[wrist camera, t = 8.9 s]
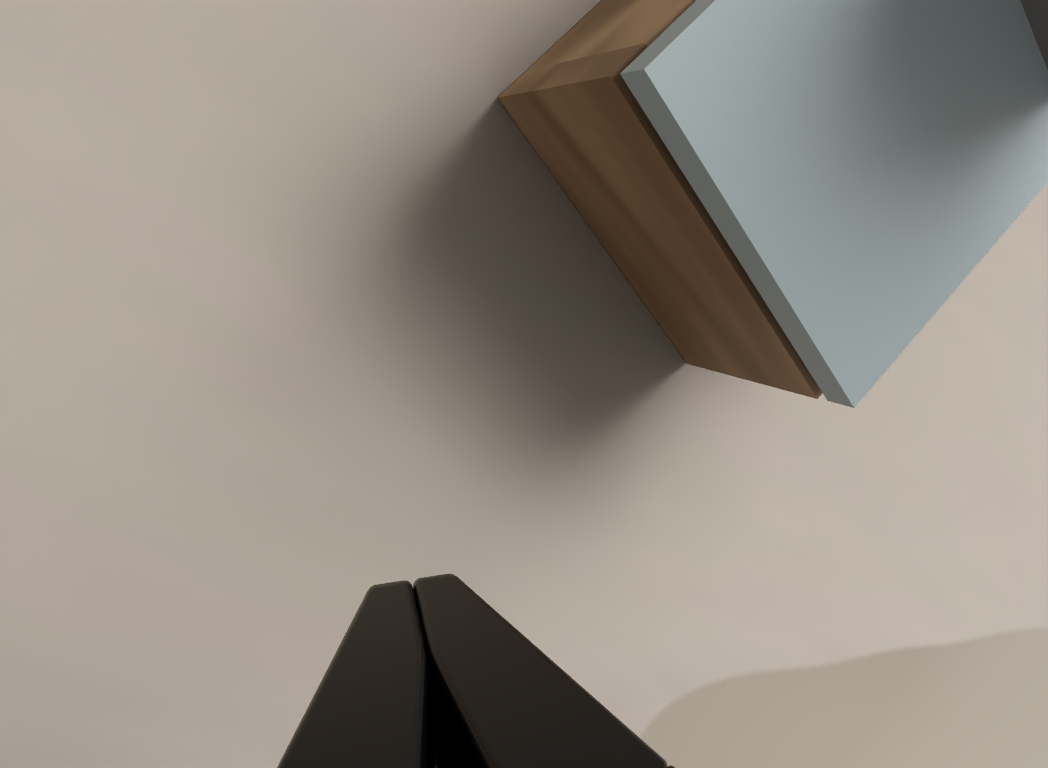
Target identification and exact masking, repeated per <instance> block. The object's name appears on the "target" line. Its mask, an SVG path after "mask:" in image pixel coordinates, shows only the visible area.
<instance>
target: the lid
mask: <svg viewBox="0 0 1048 768" xmlns="http://www.w3.org/2000/svg"><path fill="white" fill-rule="evenodd" d="M620 75H621V76H622V78H623V79H624V81H625V83H626V84H627V86H628V87H629V89H630V90H631V92H632V94H633V95H634V97H635V98H636V100H637V101H638V103H639V105H640V106H641V108H642V109H643V111H644V112H645V114H646V116H647V117H648V119H649V120H650V122H651V123H652V125H653V127H654V128H655V130H656V131H657V133H658V134H659V136H660V138H661V139H662V141H663V142H664V144H665V145H666V147H667V149H668V150H669V152H670V153H671V155H672V156H673V158H674V160H675V161H676V163H677V164H678V166H679V167H680V169H681V171H682V172H683V174H684V175H685V177H686V179H687V180H688V182H689V183H690V185H691V186H692V188H693V190H694V191H695V193H696V194H697V196H698V197H699V199H700V201H701V202H702V204H703V205H704V207H705V208H706V210H707V212H708V213H709V215H710V216H711V218H712V219H713V221H714V223H715V224H716V226H717V227H718V229H719V230H720V232H721V234H722V235H723V237H724V238H725V240H726V241H727V243H728V245H729V246H730V248H731V249H732V251H733V252H734V254H735V256H736V257H737V259H738V260H739V262H740V264H741V265H742V267H743V268H744V270H745V271H746V273H747V275H748V276H749V278H750V279H751V281H752V282H753V284H754V286H755V287H756V289H757V290H758V292H759V293H760V295H761V297H762V298H763V300H764V301H765V303H766V304H767V306H768V308H769V309H770V311H771V312H772V314H773V315H774V317H775V319H776V320H777V322H778V323H779V325H780V326H781V328H782V330H783V331H784V333H785V334H786V336H787V337H788V339H789V341H790V342H791V344H792V345H793V347H794V348H795V350H796V352H797V353H798V355H799V356H800V358H801V360H802V361H803V363H804V364H805V366H806V367H807V369H808V371H809V372H810V374H811V375H812V377H813V378H814V380H815V382H816V383H817V385H818V386H819V388H820V389H821V391H822V393H823V394H824V396H825V397H826V399H827V400H828V401H831V402H835V403H838V404H842V405H846V406H849V407H853V408H854V407H855V406H856V405H857V404H858V403H859V401H860V400H861V399H862V398H863V397H864V396H865V394H866V393H867V392H868V391H869V390H870V389H871V387H872V386H873V385H874V384H875V383H876V382H877V381H878V379H879V378H880V377H881V376H882V375H883V374H884V372H885V371H886V370H887V369H888V368H889V367H890V365H891V364H892V363H893V362H894V361H895V360H896V358H897V357H898V356H899V355H900V354H901V353H902V351H903V350H904V349H905V348H906V347H907V346H908V344H909V343H910V342H911V341H912V340H913V339H914V337H915V336H916V335H917V334H918V333H919V332H920V330H921V329H922V328H923V327H924V326H925V325H926V323H927V322H928V321H929V320H930V319H931V318H932V317H933V315H934V314H935V313H936V312H937V311H938V310H939V308H940V307H941V306H942V305H943V304H944V303H945V301H946V300H947V299H948V298H949V297H950V296H951V294H952V293H953V292H954V291H955V290H956V289H957V287H958V286H959V285H960V284H961V283H962V282H963V280H964V279H965V278H966V277H967V276H968V275H969V273H970V272H971V271H972V270H973V269H974V268H975V266H976V265H977V264H978V263H979V262H980V261H981V259H982V258H983V257H984V256H985V255H986V254H987V253H988V251H989V250H990V249H991V248H992V247H993V246H994V244H995V243H996V242H997V241H998V240H999V239H1000V237H1001V236H1002V235H1003V234H1004V233H1005V232H1006V230H1007V229H1008V228H1009V227H1010V226H1011V225H1012V223H1013V222H1014V221H1015V220H1016V219H1017V218H1018V216H1019V215H1020V214H1021V213H1022V212H1023V211H1024V209H1025V208H1026V207H1027V206H1028V205H1029V204H1030V202H1031V201H1032V200H1033V199H1034V198H1035V197H1036V195H1037V194H1038V193H1039V192H1040V191H1041V190H1042V189H1043V187H1044V186H1045V185H1046V184H1047V183H1048V0H696V1H695V2H694V3H693V4H692V5H691V6H690V7H689V8H688V9H687V10H686V11H685V12H684V13H683V14H682V15H681V16H679V17H678V18H677V19H676V20H675V21H674V22H673V23H672V24H671V25H670V26H669V27H668V28H667V29H666V30H665V31H664V32H663V33H662V34H661V35H660V36H659V37H658V38H657V39H656V40H655V41H653V42H652V43H651V44H650V45H649V46H648V47H647V48H646V49H645V50H644V51H643V52H642V53H641V54H640V55H639V56H638V57H637V58H636V59H635V60H634V61H633V62H632V63H631V64H630V65H629V66H627V67H626V68H625V69H624V70H623V71H622V72H621V73H620Z"/></svg>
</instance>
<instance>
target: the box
mask: <svg viewBox="0 0 1048 768" xmlns="http://www.w3.org/2000/svg"><path fill="white" fill-rule="evenodd" d="M695 1H696V0H602V1H600V2H599V3H598V4H597V5H596V6H595V7H594V8H593V9H592V10H591V11H590V12H589V13H588V14H587V15H585V16H584V17H583V18H582V19H581V20H580V21H579V22H578V23H577V24H576V25H575V26H574V27H573V28H572V29H570V30H569V31H568V32H567V33H566V34H565V35H564V36H563V37H562V38H561V39H560V40H559V41H558V42H556V43H555V44H554V45H553V46H552V47H551V48H550V49H549V50H548V51H547V52H546V53H545V54H544V55H543V56H541V57H540V58H539V59H538V60H537V61H536V62H535V63H534V64H533V65H532V66H531V67H530V68H529V69H527V70H526V71H525V72H524V73H523V74H522V75H521V76H520V77H519V78H518V79H517V80H516V81H515V82H514V83H512V84H511V85H510V86H509V87H508V88H507V89H506V90H505V91H504V92H503V93H502V94H501V95H500V96H498V97H497V98H498V99H499V101H500V102H501V104H502V105H503V106H504V108H505V109H506V111H507V112H508V113H509V115H510V116H511V118H512V119H513V120H514V122H515V123H516V125H517V126H518V127H519V129H520V130H521V132H522V133H523V134H524V136H525V137H526V139H527V140H528V141H529V143H530V144H531V146H532V147H533V148H534V150H535V151H536V153H537V154H538V155H539V157H540V158H541V160H542V161H543V162H544V164H545V165H546V167H547V168H548V169H549V171H550V172H551V174H552V175H553V176H554V178H555V179H556V181H557V182H558V183H559V185H560V186H561V188H562V189H563V190H564V192H565V193H566V195H567V196H568V197H569V199H570V200H571V202H572V203H573V204H574V206H575V207H576V209H577V210H578V211H579V213H580V214H581V216H582V217H583V218H584V220H585V221H586V223H587V224H588V225H589V227H590V228H591V230H592V231H593V232H594V234H595V235H596V237H597V238H598V239H599V241H600V242H601V244H602V245H603V246H604V248H605V249H606V251H607V252H608V253H609V255H610V256H611V258H612V259H613V260H614V262H615V263H616V265H617V266H618V267H619V269H620V270H621V272H622V273H623V274H624V276H625V277H626V279H627V280H628V281H629V283H630V284H631V286H632V287H633V288H634V290H635V291H636V293H637V294H638V295H639V297H640V298H641V300H642V301H643V302H644V304H645V305H646V307H647V308H648V309H649V311H650V312H651V314H652V315H653V316H654V318H655V319H656V321H657V322H658V323H659V325H660V326H661V328H662V329H663V330H664V332H665V333H666V335H667V336H668V337H669V339H670V340H671V342H672V343H673V344H674V346H675V347H676V349H677V350H678V351H679V353H680V354H681V356H682V357H683V358H684V360H685V361H686V363H687V364H690V365H694V366H698V367H702V368H705V369H709V370H713V371H716V372H720V373H724V374H727V375H731V376H735V377H738V378H742V379H746V380H750V381H753V382H757V383H761V384H764V385H768V386H772V387H775V388H779V389H783V390H787V391H790V392H794V393H798V394H801V395H805V396H809V397H812V398H816V399H818V398H819V397H820V395H821V394H822V391H821V389H820V388H819V386H818V385H817V383H816V382H815V380H814V378H813V377H812V375H811V374H810V372H809V371H808V369H807V367H806V366H805V364H804V363H803V361H802V360H801V358H800V356H799V355H798V353H797V352H796V350H795V348H794V347H793V345H792V344H791V342H790V341H789V339H788V337H787V336H786V334H785V333H784V331H783V330H782V328H781V326H780V325H779V323H778V322H777V320H776V319H775V317H774V315H773V314H772V312H771V311H770V309H769V308H768V306H767V304H766V303H765V301H764V300H763V298H762V297H761V295H760V293H759V292H758V290H757V289H756V287H755V286H754V284H753V282H752V281H751V279H750V278H749V276H748V275H747V273H746V271H745V270H744V268H743V267H742V265H741V264H740V262H739V260H738V259H737V257H736V256H735V254H734V252H733V251H732V249H731V248H730V246H729V245H728V243H727V241H726V240H725V238H724V237H723V235H722V234H721V232H720V230H719V229H718V227H717V226H716V224H715V223H714V221H713V219H712V218H711V216H710V215H709V213H708V212H707V210H706V208H705V207H704V205H703V204H702V202H701V201H700V199H699V197H698V196H697V194H696V193H695V191H694V190H693V188H692V186H691V185H690V183H689V182H688V180H687V179H686V177H685V175H684V174H683V172H682V171H681V169H680V167H679V166H678V164H677V163H676V161H675V160H674V158H673V156H672V155H671V153H670V152H669V150H668V149H667V147H666V145H665V144H664V142H663V141H662V139H661V138H660V136H659V134H658V133H657V131H656V130H655V128H654V127H653V125H652V123H651V122H650V120H649V119H648V117H647V116H646V114H645V112H644V111H643V109H642V108H641V106H640V105H639V103H638V101H637V100H636V98H635V97H634V95H633V94H632V92H631V90H630V89H629V87H628V86H627V84H626V83H625V81H624V79H623V78H622V76H621V75H620V73H621V72H622V71H623V70H624V69H625V68H626V67H627V66H629V65H630V64H631V63H632V62H633V61H634V60H635V59H636V58H637V57H638V56H639V55H640V54H641V53H642V52H643V51H644V50H645V49H646V48H647V47H648V46H649V45H650V44H651V43H652V42H653V41H655V40H656V39H657V38H658V37H659V36H660V35H661V34H662V33H663V32H664V31H665V30H666V29H667V28H668V27H669V26H670V25H671V24H672V23H673V22H674V21H675V20H676V19H677V18H678V17H679V16H681V15H682V14H683V13H684V12H685V11H686V10H687V9H688V8H689V7H690V6H691V5H692V4H693V3H694V2H695Z"/></svg>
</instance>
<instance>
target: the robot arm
mask: <svg viewBox="0 0 1048 768" xmlns="http://www.w3.org/2000/svg"><path fill="white" fill-rule="evenodd" d="M277 768H675V767H674V766H668V767H667V763H666V761H665V760H664V759H663V758H662V757H661V756H660V755H658V754H657V753H656V752H655V751H654V750H653V749H651V748H650V747H649V746H648V745H647V744H646V743H645V742H644V741H643V740H641V739H640V738H639V737H638V736H637V735H636V734H635V733H633V732H632V731H631V730H630V729H629V728H628V727H627V726H626V725H624V724H623V723H622V722H621V721H620V720H619V719H618V718H616V717H615V716H614V715H613V714H612V713H611V712H610V711H609V710H607V709H606V708H605V707H604V706H603V705H602V704H601V703H599V702H598V701H597V700H596V699H595V698H594V697H593V696H592V695H590V694H589V693H588V692H587V691H586V690H585V689H584V688H582V687H581V686H580V685H579V684H578V683H577V682H576V681H575V680H573V679H572V678H571V677H570V676H569V675H568V674H567V673H565V672H564V671H563V670H562V669H561V668H560V667H559V666H558V665H556V664H555V663H554V662H553V661H552V660H551V659H550V658H548V657H547V656H546V655H545V654H544V653H543V652H542V651H541V650H539V649H538V648H537V647H536V646H535V645H534V644H533V643H531V642H530V641H529V640H528V639H527V638H526V637H525V636H524V635H522V634H521V633H520V632H519V631H518V630H517V629H516V628H514V627H513V626H512V625H511V624H510V623H509V622H508V621H506V620H505V619H504V618H503V617H502V616H501V615H500V614H499V613H497V612H496V611H495V610H494V609H493V608H492V607H491V606H489V605H488V604H487V603H486V602H485V601H484V600H483V599H482V598H480V597H479V596H478V595H477V594H476V593H475V592H474V591H472V590H471V589H470V588H469V587H468V586H467V585H466V584H465V583H463V582H462V581H461V580H460V579H459V578H458V577H457V576H455V575H453V574H444V575H437V576H431V577H424V578H419V579H417V580H416V581H415V582H414V584H413V587H412V584H411V583H410V582H408V581H398V582H391V583H385V584H378V585H374V586H372V587H370V589H369V590H368V591H367V593H366V595H365V597H364V599H363V601H362V603H361V605H360V607H359V609H358V611H357V613H356V615H355V617H354V619H353V620H352V622H351V624H350V626H349V628H348V630H347V632H346V634H345V636H344V638H343V640H342V642H341V644H340V646H339V648H338V650H337V652H336V654H335V656H334V658H333V660H332V661H331V663H330V665H329V667H328V669H327V671H326V673H325V675H324V677H323V679H322V681H321V683H320V685H319V687H318V689H317V691H316V693H315V695H314V697H313V699H312V701H311V702H310V704H309V706H308V708H307V710H306V712H305V714H304V716H303V718H302V720H301V722H300V724H299V726H298V728H297V730H296V732H295V734H294V736H293V738H292V740H291V742H290V743H289V745H288V747H287V749H286V751H285V753H284V755H283V757H282V759H281V761H280V763H279V765H278V767H277Z"/></svg>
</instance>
